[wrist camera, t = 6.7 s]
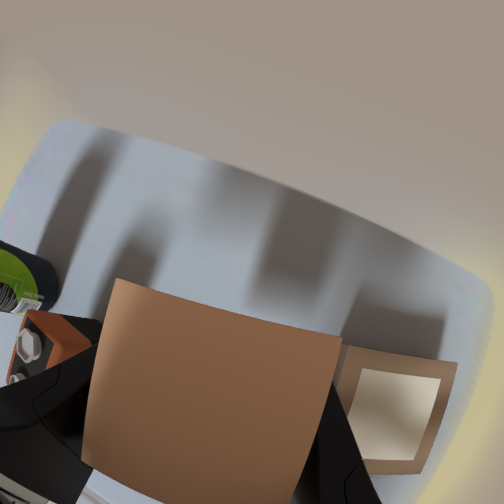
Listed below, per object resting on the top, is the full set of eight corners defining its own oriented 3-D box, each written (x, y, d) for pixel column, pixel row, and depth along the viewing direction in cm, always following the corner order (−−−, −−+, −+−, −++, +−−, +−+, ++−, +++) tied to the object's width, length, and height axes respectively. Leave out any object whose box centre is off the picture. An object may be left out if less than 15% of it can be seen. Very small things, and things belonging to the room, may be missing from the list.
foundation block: (401, 456, 17) (420, 474, 13) (304, 447, 19) (308, 468, 15) (432, 359, 19) (458, 362, 16) (336, 343, 21) (348, 344, 17)
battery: (131, 343, 22) (52, 342, 13) (104, 404, 21) (28, 425, 11) (96, 317, 23) (16, 302, 14) (72, 376, 22) (-6, 383, 12)
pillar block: (278, 422, 14) (275, 533, 4) (190, 397, 14) (80, 460, 5) (302, 335, 15) (342, 337, 5) (212, 313, 16) (116, 277, 6)
